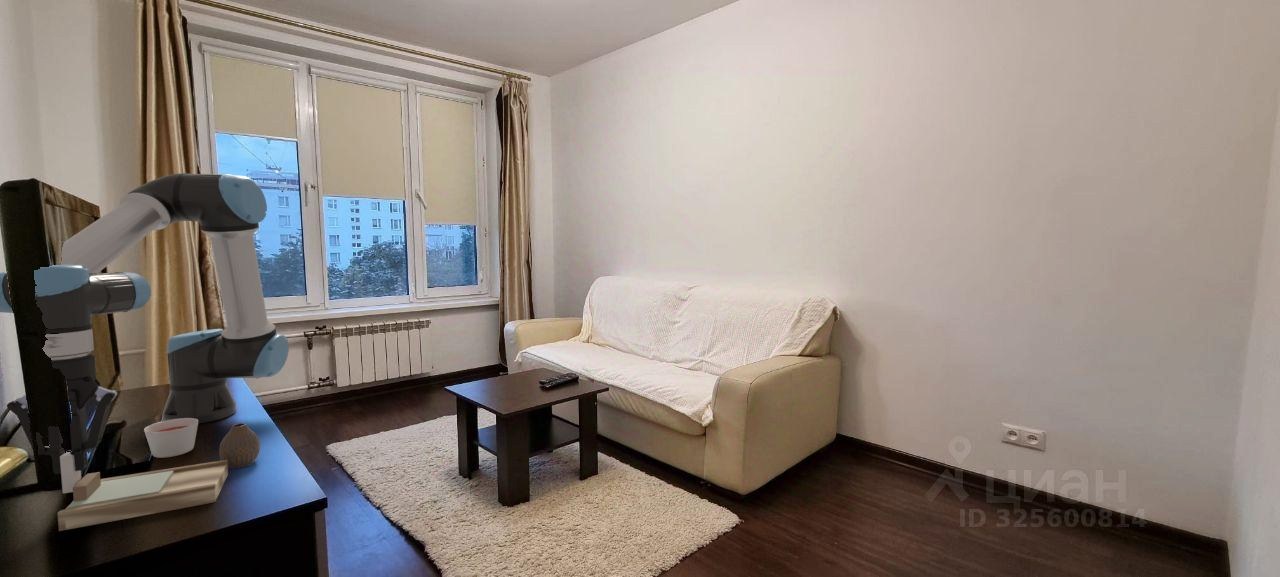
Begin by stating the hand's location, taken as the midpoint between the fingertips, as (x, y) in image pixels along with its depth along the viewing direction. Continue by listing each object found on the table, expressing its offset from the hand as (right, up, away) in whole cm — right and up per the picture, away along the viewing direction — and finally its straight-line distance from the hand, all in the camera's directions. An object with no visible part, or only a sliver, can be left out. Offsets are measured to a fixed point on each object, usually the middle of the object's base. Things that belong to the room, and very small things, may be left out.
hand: (72, 489), depth 89 cm
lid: (+6, -2, +3) cm, 7 cm away
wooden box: (+9, -4, +6) cm, 11 cm away
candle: (-7, -2, +27) cm, 27 cm away
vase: (+13, -3, +21) cm, 25 cm away
